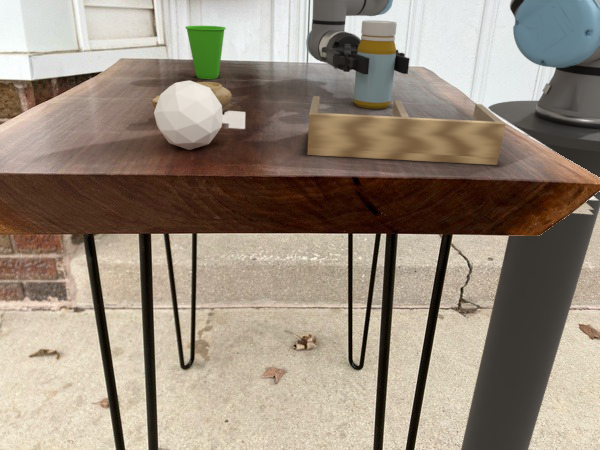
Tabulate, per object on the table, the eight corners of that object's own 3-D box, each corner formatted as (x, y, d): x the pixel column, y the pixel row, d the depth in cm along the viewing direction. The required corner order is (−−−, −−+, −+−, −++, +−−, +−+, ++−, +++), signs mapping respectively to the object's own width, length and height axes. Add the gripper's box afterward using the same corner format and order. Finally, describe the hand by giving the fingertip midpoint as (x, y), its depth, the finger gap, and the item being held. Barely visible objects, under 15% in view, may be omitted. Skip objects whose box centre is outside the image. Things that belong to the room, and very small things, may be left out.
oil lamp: (149, 125, 82) (146, 92, 79) (179, 106, 94) (177, 77, 92) (216, 129, 81) (215, 96, 78) (237, 109, 94) (236, 80, 91)
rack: (475, 140, 80) (482, 104, 78) (497, 165, 69) (505, 123, 67) (311, 132, 81) (313, 96, 79) (307, 155, 70) (309, 114, 68)
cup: (229, 80, 120) (228, 29, 116) (189, 80, 118) (186, 28, 114) (224, 74, 128) (223, 25, 124) (186, 74, 126) (183, 25, 121)
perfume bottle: (159, 147, 65) (252, 151, 70) (159, 71, 64) (253, 80, 69) (148, 149, 73) (233, 153, 77) (149, 81, 72) (234, 90, 77)
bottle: (392, 103, 103) (401, 21, 97) (386, 111, 97) (396, 23, 90) (357, 100, 105) (364, 19, 98) (349, 107, 99) (356, 21, 92)
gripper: (382, 68, 117) (434, 86, 97) (296, 68, 112) (332, 88, 92) (386, 32, 114) (440, 44, 94) (297, 31, 109) (335, 43, 89)
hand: (386, 66), depth 93 cm, fingers closed on bottle, 7 cm apart
